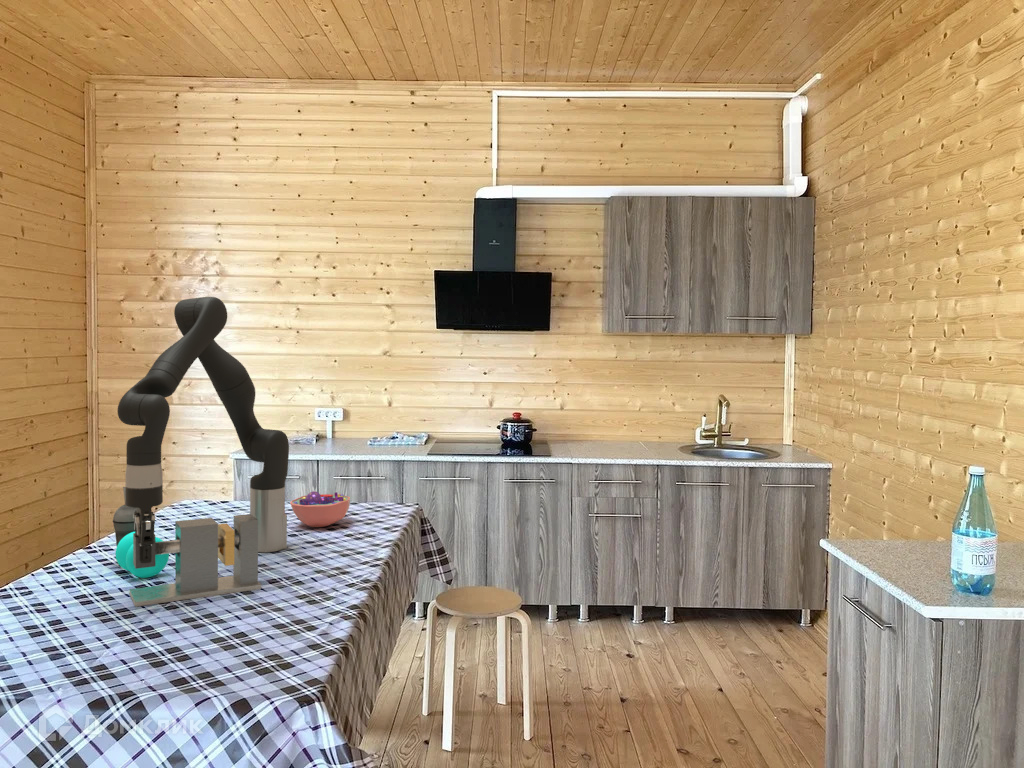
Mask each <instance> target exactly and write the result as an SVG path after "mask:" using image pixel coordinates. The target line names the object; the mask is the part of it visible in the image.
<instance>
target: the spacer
mask: <svg viewBox="0 0 1024 768" xmlns="http://www.w3.org/2000/svg"><path fill="white" fill-rule="evenodd" d="M219 535H222V536H223V537H224V547H221V548H218V560H219V561H220V562H221V563H222V564H223V565H224V566H225V567H227V566H233V565H234V528H232V527H231V526H230V525H229V523H227V522H226V523H218V536H219Z"/></svg>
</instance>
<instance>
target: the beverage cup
mask: <svg viewBox="0 0 1024 768" xmlns="http://www.w3.org/2000/svg"><path fill="white" fill-rule="evenodd" d="M122 490H123V499H124V501H125V486H123V487H122ZM135 510H137V508H132V507H128V506H126V504H125V503H124V504H122V505H121V506H119V507H118V508H117V509H116V511H115V512H114V514H113V516H112V523H113V530H114V533H115V543H116V546H117V545H118V543H119V542H120V540H121V539H122V538H123V537H124V536H126V535H127V534H129V533H131V532H135V529H134V523H135V521H134V518H133V516H134V512H135ZM118 566H119V567H120V568H122V567H121V566H120V565H119V564H118Z"/></svg>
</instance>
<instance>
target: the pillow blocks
mask: <svg viewBox="0 0 1024 768" xmlns="http://www.w3.org/2000/svg"><path fill="white" fill-rule="evenodd" d="M174 523H175V525H174V527H175V536H174V537H175V539H174V540H180V552H177V553H174V554H175V558H174V560H175V562H174V563H175V565H174V566H175V568H174V569H175V570H174V571H175V579H174V580H175V583H167V584H160V585H153V586H152V585H151V586H146V587H145V586H144V587H137V588H131V589H128V591H129V596H130V598H131V601H132V603H133V606H134V607H135V608H137V607H141V606H150V605H156V604H163V603H164V604H165V603H171V602H178V601H184V600H191V599H199V598H204V597H211V596H219V595H225V594H234V593H241V592H246V591H254V590H261V588H263V586H262V583H261V582H260V581H259V552H258V520H257V519H256V518H255V517H254V516H252V515H251V514H250V513H249V514H248V513H247V514H240V515H239V514H237V515H233V530H234V534H238V533H239V546H234V565H232V566H233V575H230V576H229V575H228V576H220V577H219V558H218V524H219V523H218V522H216V520H214V518H213V517H209V518H208V517H207V518H205V517H204V518H197V519H196V518H195V519H194V518H193V519H186V520H185V519H184V520H176V521H175V522H174Z"/></svg>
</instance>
